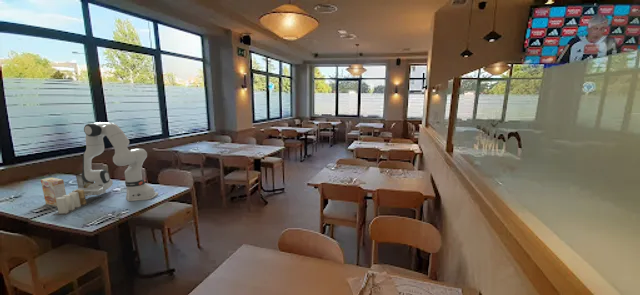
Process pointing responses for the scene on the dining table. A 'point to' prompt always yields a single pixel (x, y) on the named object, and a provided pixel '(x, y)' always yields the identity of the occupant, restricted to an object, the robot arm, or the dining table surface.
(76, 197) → the tile
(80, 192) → the wooden block
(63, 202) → the tile
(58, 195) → the coffeecake box
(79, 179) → the coffee box
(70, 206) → the tile
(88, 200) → the mat
